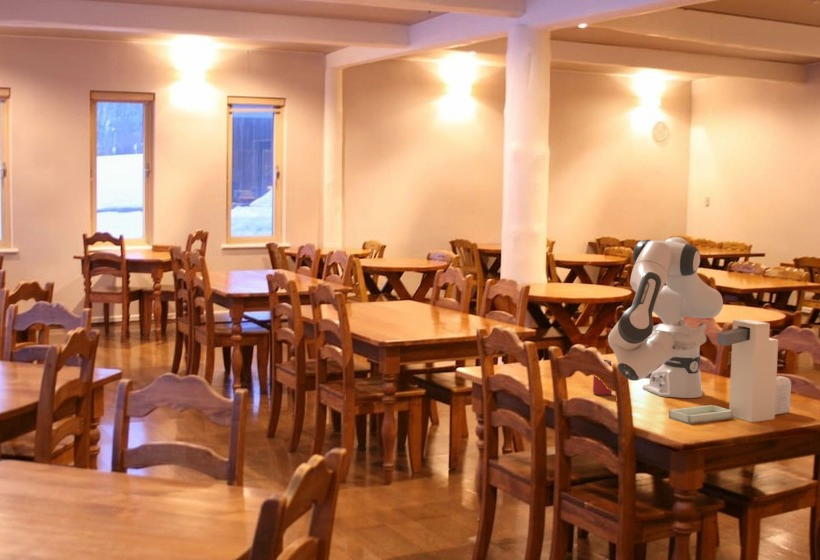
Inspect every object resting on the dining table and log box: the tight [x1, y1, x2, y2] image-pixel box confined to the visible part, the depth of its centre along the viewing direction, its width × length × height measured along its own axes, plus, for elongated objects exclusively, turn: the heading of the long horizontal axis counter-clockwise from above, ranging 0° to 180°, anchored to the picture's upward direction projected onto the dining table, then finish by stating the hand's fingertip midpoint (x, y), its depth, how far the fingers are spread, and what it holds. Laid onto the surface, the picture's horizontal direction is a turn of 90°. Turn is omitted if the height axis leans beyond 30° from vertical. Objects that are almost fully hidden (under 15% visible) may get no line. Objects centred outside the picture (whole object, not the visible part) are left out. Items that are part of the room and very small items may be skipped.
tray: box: [668, 404, 734, 425], centre depth 339 cm, size 9×18×2 cm, turn 117°
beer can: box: [592, 359, 613, 397], centre depth 374 cm, size 7×7×12 cm
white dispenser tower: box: [728, 318, 779, 423], centre depth 340 cm, size 10×10×32 cm
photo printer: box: [775, 375, 792, 416], centre depth 347 cm, size 10×4×12 cm, turn 123°
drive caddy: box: [716, 327, 750, 347], centre depth 335 cm, size 4×13×4 cm, turn 117°
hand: (693, 323), depth 328 cm, fingers open, 8 cm apart
